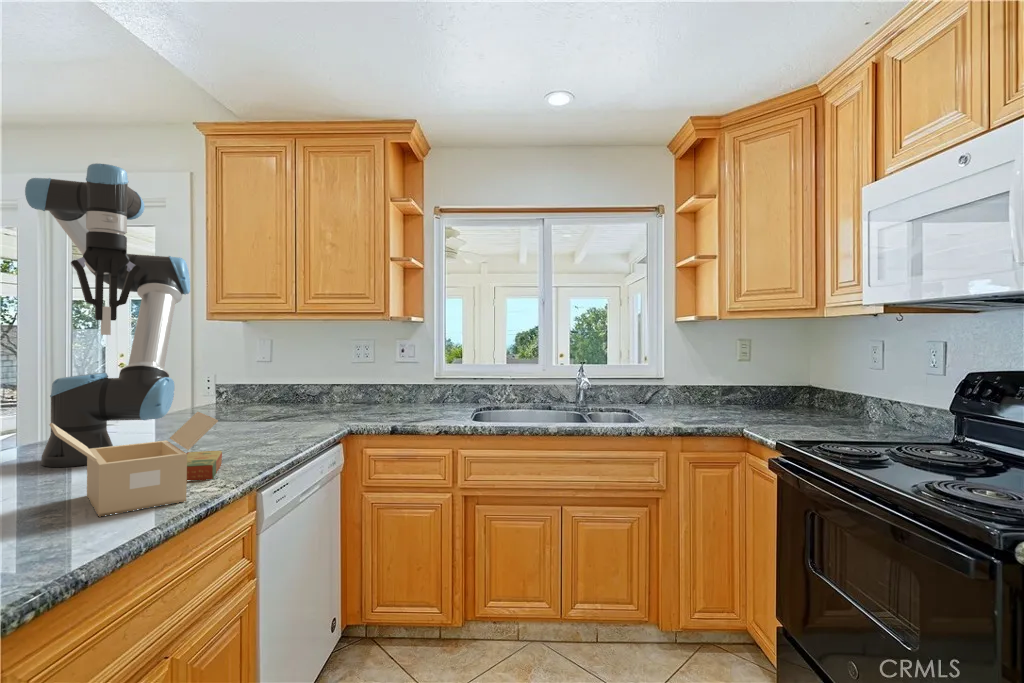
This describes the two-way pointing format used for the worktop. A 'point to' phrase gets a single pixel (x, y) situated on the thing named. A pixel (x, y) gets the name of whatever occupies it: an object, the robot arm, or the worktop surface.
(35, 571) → the worktop surface
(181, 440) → the far flap
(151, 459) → the cardboard box
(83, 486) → the worktop surface
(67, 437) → the near flap
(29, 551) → the worktop surface
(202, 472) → the carton
